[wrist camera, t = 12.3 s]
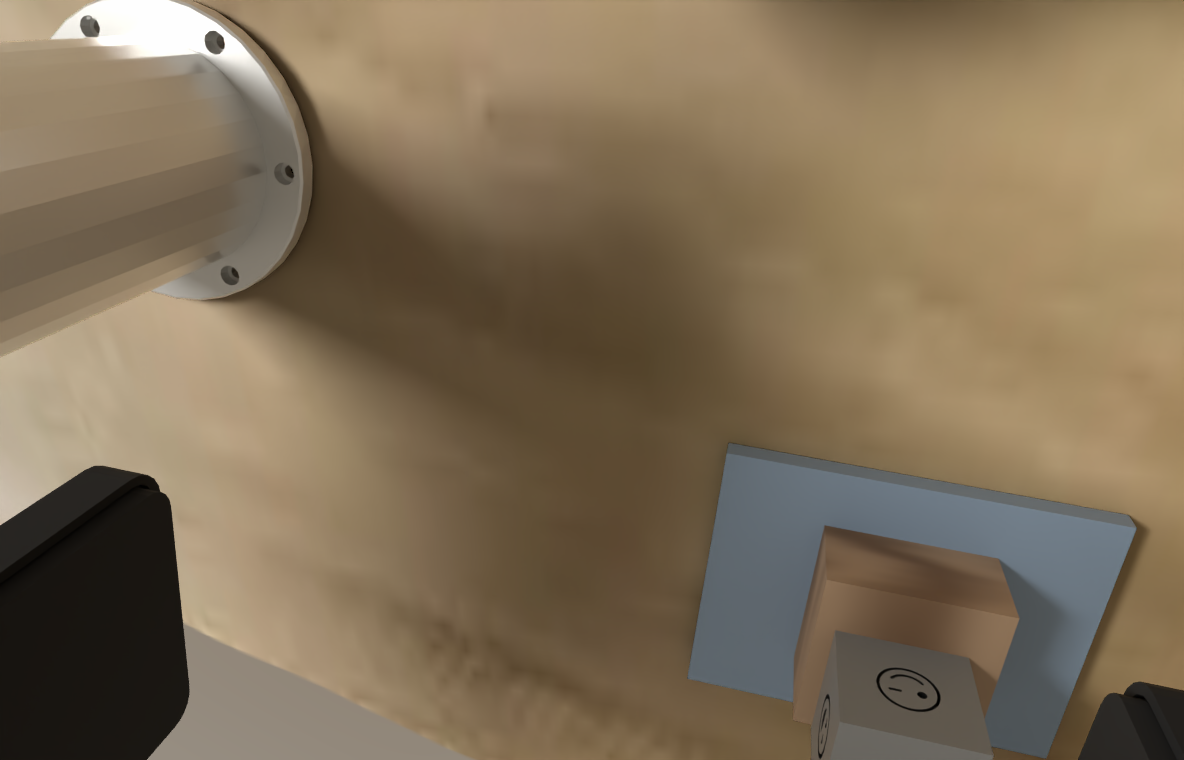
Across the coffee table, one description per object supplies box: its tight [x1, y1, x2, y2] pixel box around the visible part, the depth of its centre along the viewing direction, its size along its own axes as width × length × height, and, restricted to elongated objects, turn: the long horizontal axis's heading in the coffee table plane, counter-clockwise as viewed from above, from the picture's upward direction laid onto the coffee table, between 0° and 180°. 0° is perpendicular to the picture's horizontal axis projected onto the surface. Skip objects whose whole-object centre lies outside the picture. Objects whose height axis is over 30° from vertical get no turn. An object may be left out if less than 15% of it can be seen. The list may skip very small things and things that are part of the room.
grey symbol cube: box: [811, 630, 994, 760], centre depth 34 cm, size 5×5×5 cm
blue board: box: [687, 443, 1137, 759], centre depth 40 cm, size 16×12×1 cm
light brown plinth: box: [793, 525, 1020, 725], centre depth 37 cm, size 7×7×4 cm
